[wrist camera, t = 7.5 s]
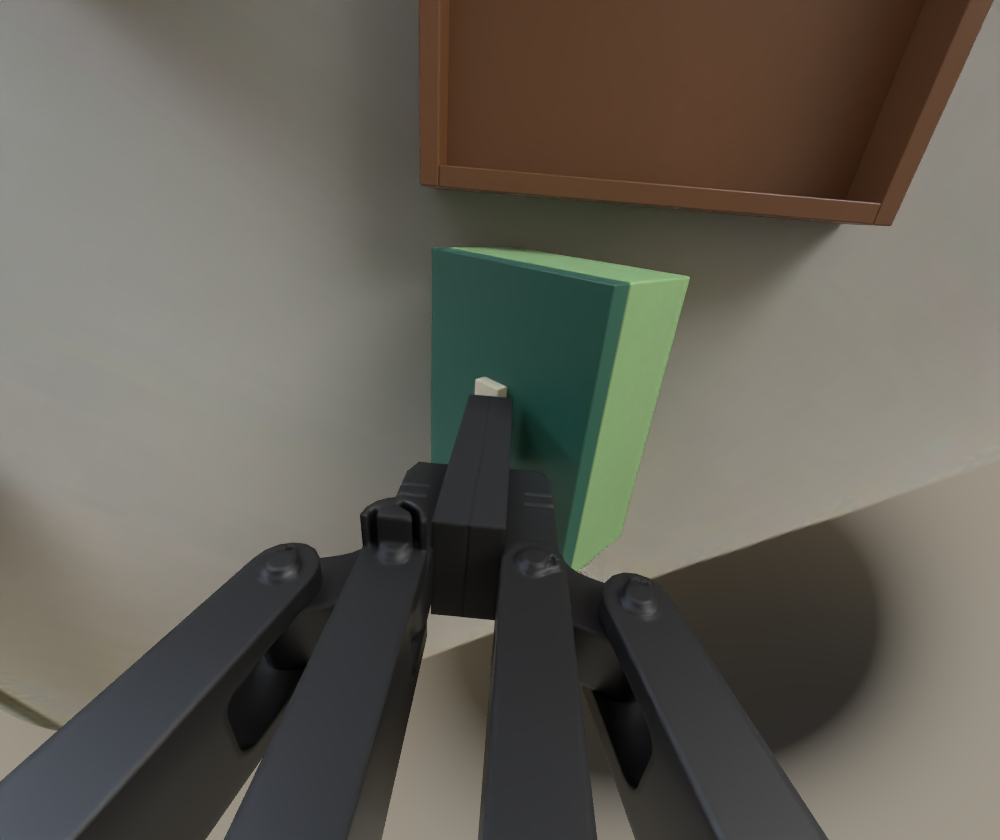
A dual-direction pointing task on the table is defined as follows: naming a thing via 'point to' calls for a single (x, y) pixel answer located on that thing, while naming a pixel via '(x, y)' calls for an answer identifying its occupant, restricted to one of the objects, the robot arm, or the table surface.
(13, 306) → the table surface
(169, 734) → the robot arm
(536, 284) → the box
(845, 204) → the tray
